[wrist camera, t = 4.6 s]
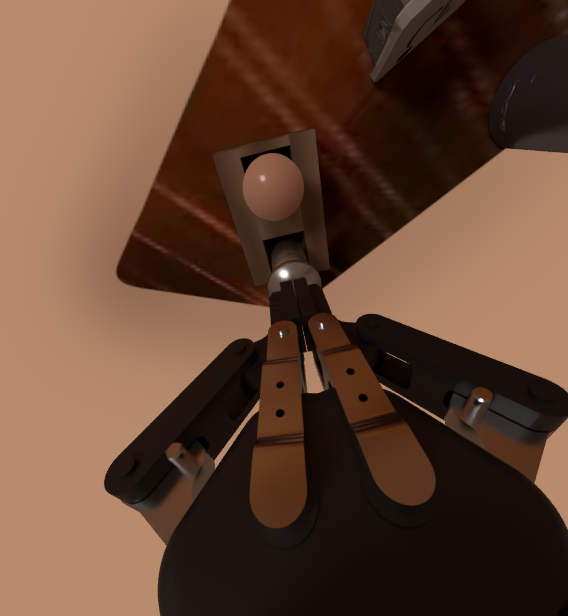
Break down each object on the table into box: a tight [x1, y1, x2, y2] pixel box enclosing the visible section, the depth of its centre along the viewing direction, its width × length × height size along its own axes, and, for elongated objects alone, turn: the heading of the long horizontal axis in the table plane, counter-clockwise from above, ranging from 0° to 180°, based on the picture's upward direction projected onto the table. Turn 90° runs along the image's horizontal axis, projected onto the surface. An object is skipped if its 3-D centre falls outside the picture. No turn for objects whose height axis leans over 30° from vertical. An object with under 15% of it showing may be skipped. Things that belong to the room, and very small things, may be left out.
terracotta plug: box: [243, 153, 304, 221], centre depth 24 cm, size 5×5×8 cm
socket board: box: [212, 129, 330, 286], centre depth 30 cm, size 10×15×5 cm, turn 12°
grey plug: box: [268, 240, 321, 300], centre depth 27 cm, size 5×5×8 cm
